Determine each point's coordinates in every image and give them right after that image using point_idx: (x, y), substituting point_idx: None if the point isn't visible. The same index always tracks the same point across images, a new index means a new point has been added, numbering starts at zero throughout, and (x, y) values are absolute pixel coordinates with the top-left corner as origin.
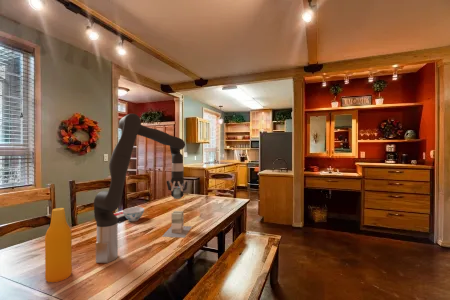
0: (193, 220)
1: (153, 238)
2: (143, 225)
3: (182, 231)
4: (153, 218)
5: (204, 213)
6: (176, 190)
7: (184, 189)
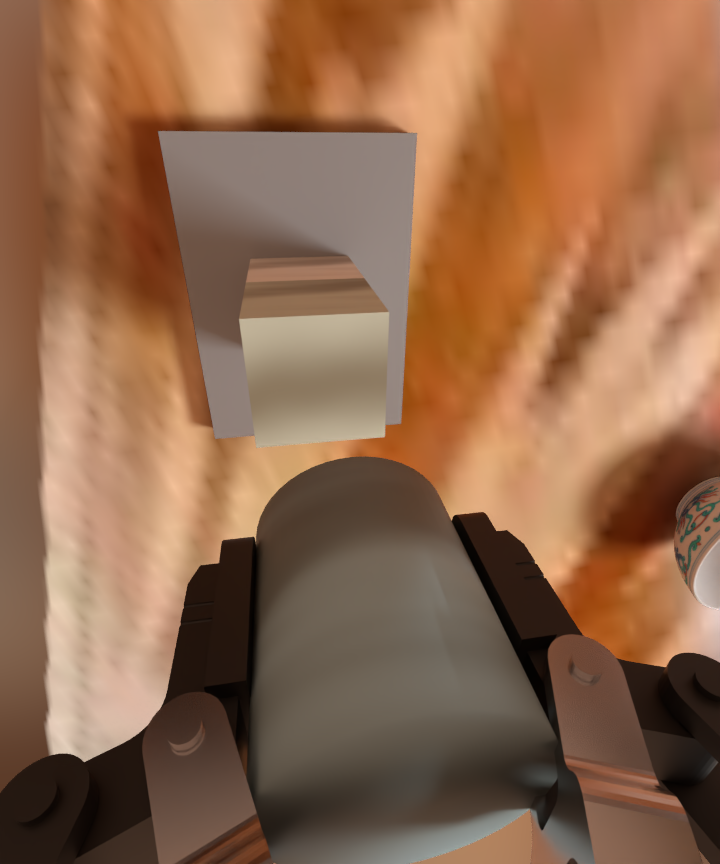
0: None
1: (492, 145)
2: (627, 422)
3: None
4: (577, 550)
5: None
6: (398, 659)
7: (40, 801)
